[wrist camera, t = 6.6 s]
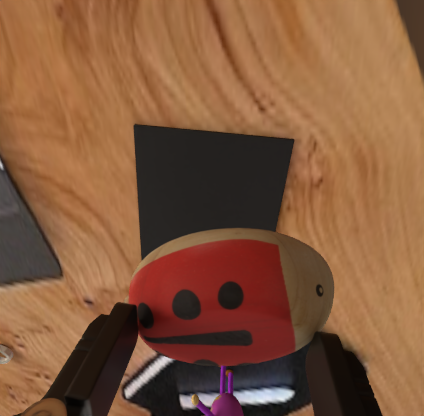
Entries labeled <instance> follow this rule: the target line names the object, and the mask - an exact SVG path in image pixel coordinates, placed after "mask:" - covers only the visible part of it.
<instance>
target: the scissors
mask: <svg viewBox="0 0 424 416" xmlns="http://www.w3.org/2000/svg"><path fill="white" fill-rule="evenodd" d="M0 353H2V354H3V355H5V356H6V358H3V357H0V364H5V363H8V362H9V361H10V360H11V358H12V357H13V352H12V351H11V350H10V349H9V348H7V347H5V346H3V345H0Z"/></svg>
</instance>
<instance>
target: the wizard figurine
mask: <svg viewBox="0 0 424 416" xmlns="http://www.w3.org/2000/svg"><path fill="white" fill-rule="evenodd" d="M219 367H221V382H220V395H219V396H218V397H217V398H216V399H215V400H214V402H213V404H212V407H211V410H209V409H208V408H207V407H206V406H205V405H204V404H203V403H202V402H201V401H200V400H199V397H198V396H197V395H196V394H194V395H193V396H192V403H193V405H195V406H197V407H198V408H199V409H200V410H201V411H202V412H203V413H204V414H205V415H206V416H243V412H242V408H241V405H240V403H239V401H238V400H237V399H236V397H235V396H233V371H232V370H230V369H228V370H226V366H219ZM226 376H227V377H228V393H225V381H226V380H225V379H226Z"/></svg>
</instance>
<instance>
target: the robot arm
mask: <svg viewBox="0 0 424 416" xmlns="http://www.w3.org/2000/svg"><path fill="white" fill-rule="evenodd" d="M138 332H139V328H138V315H137V306H136V305H135V304H128V303H121V302H117V303H116V304H115V306H114V307H113V309H112V311H111V313H110V315H104V314H101V315H100V316H99V317H97V318H96V319H95V320H94V321H93V322H92V323H90V324H89V326H88V328H87V329H86V331H85V332H84V334H83V336H82V339H80V341H79V342H78V344H77V345H76V347H75V350H73V352H72V353H71V355H70V357H69V358H68V360H67V362H66V363H65V365H64V366H63V368H62V370H61V371H60V373H59V374H58V376H57V378H56V379H55V381H54V382H53V384H52V386H51V387H50V389H49V390H48V392H47V393H46V395H45V396H44V397H43V398H42V399H41V400H40V401H38V402H36V403H34V404H32V405H31V406H30V407H28V408H27V409H26V410H25V411H24V412H23V413H20V414H18V415H14V416H107V415H108V412H109V410H110V407H111V405H112V403H113V400H114V398H115V395H116V393H117V390H118V388H119V385H120V383H121V380H122V378H123V375H124V373H125V370H126V368H127V365H128V363H129V360H130V358H131V355H132V353H133V351H134V348H135V345H136V342H137V338H138ZM305 365H306V375H307V380H308V385H309V390H310V395H311V400H312V405H313V410H314V415H315V416H382V413H381V411H380V408H379V406H378V403H377V401H376V398H374V393H373V390H372V388H371V385H369V380H368V378H367V375H366V373H365V370H364V368H363V366H362V364H361V363H360V362H359V360H358V359H357V358H356V356H355V355H354V354H353V353H352V352H350V351H344V350H343V347H342V344H341V341H340V339H339V337H338V335H337V334H332V333H325V332H318V331H316V332H315V333H314V336H313V339H312V341H311V344H310V347H309V350H308V353H307V355H306V364H305Z"/></svg>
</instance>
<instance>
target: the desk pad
mask: <svg viewBox="0 0 424 416" xmlns="http://www.w3.org/2000/svg"><path fill="white" fill-rule="evenodd" d="M134 139H135V156H136V172H137V189H138V206H139V222H140V239H141V255H142V260H143V259H144V258H145V257H146V256H147V255H149V254H150V253H151V252H152V251H154V250H155V249H157V248H158V247H160V246H162V245H163V244H165V243H167V242H169V241H172V240H174V239H177V238H180V237H182V236H186V235H189V234H192V233H197V232H202V231H207V230H214V229H225V228H251V229H262V230H268V231H273V232H275V231H276V226H277V221H278V216H279V212H280V207H281V202H282V197H283V192H284V188H285V183H286V178H287V173H288V168H289V163H290V159H291V154H292V149H293V144H294V139H285V138H274V137H264V136H253V135H243V134H232V133H222V132H211V131H200V130H190V129H179V128H169V127H158V126H148V125H137V124H135V125H134Z"/></svg>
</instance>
